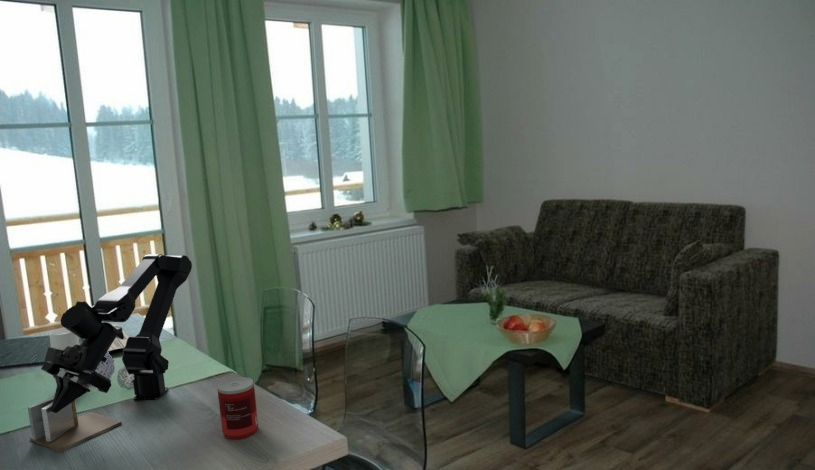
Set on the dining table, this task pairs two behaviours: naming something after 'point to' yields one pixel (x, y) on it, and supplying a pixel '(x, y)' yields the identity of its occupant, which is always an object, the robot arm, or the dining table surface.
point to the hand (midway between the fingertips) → (53, 412)
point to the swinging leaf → (57, 421)
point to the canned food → (238, 407)
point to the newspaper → (118, 341)
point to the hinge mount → (80, 432)
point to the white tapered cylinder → (63, 338)
